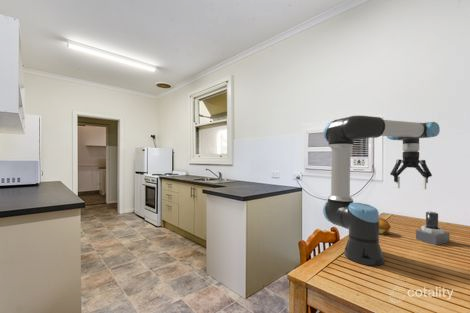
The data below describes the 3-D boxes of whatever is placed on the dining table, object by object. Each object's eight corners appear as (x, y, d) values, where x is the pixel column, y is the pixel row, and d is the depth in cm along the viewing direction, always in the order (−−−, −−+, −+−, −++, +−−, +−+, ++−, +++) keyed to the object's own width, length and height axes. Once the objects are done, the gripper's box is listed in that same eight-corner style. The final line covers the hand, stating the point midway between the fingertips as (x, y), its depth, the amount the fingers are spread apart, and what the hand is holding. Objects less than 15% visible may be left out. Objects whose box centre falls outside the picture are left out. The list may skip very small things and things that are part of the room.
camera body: (435, 245, 114) (435, 231, 114) (416, 239, 122) (415, 226, 122) (449, 241, 119) (449, 228, 119) (429, 236, 127) (429, 224, 127)
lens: (441, 233, 117) (441, 213, 118) (430, 232, 118) (430, 213, 118) (433, 229, 123) (433, 211, 123) (423, 229, 123) (423, 211, 123)
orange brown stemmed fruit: (383, 229, 139) (385, 215, 137) (393, 239, 128) (396, 224, 126) (366, 228, 140) (368, 214, 137) (375, 238, 129) (377, 223, 127)
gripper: (430, 152, 128) (430, 188, 127) (383, 151, 131) (383, 186, 131) (440, 151, 120) (440, 190, 120) (390, 150, 124) (390, 188, 124)
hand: (410, 188), depth 125 cm, fingers open, 13 cm apart
